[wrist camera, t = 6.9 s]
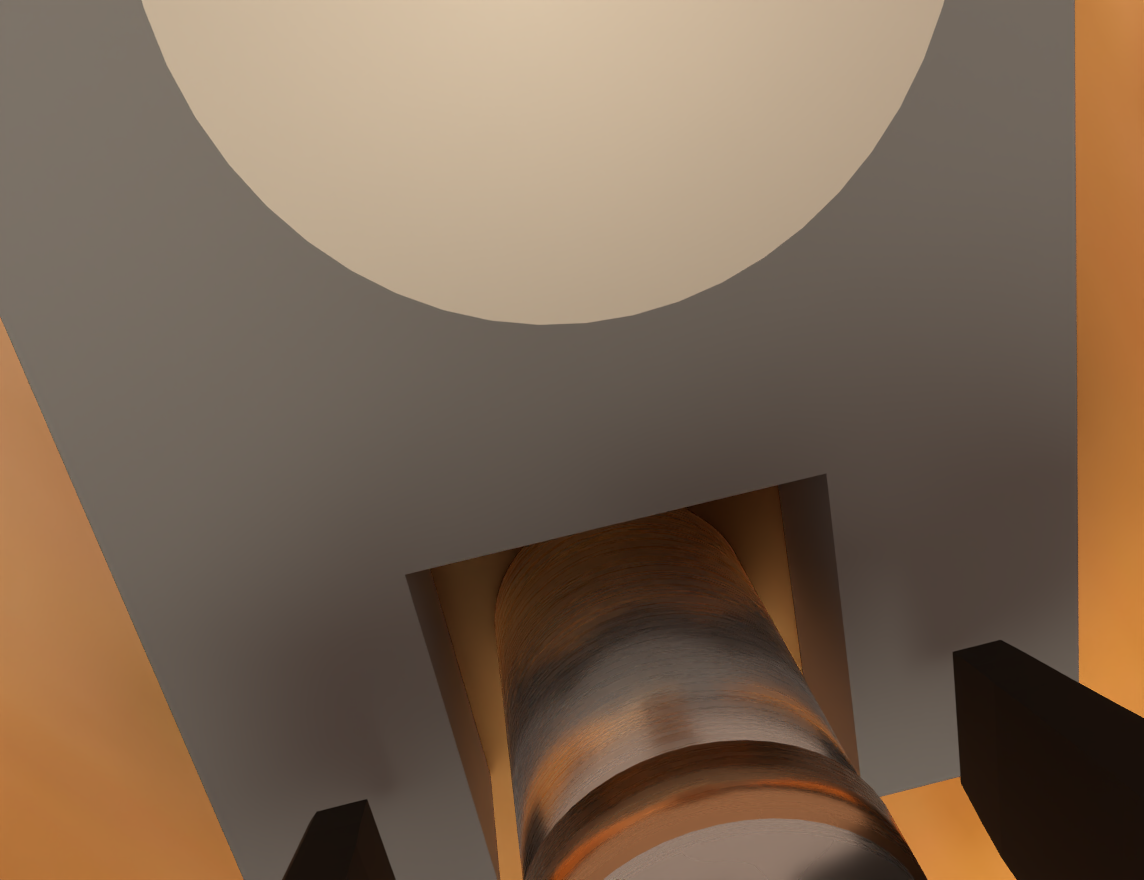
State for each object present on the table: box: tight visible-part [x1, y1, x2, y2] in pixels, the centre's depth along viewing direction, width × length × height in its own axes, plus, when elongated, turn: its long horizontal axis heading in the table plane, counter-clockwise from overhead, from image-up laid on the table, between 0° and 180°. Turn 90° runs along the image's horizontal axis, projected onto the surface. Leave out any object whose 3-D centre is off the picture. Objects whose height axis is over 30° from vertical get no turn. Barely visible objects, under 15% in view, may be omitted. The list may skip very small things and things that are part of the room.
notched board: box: [0, 0, 1079, 880], centre depth 11 cm, size 16×12×8 cm
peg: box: [495, 508, 927, 880], centre depth 14 cm, size 4×4×7 cm
